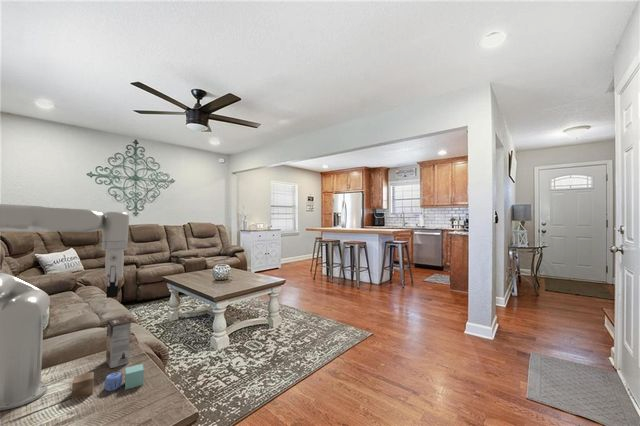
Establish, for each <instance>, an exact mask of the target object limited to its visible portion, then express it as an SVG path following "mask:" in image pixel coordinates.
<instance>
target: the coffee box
mask: <svg viewBox="0 0 640 426" xmlns="http://www.w3.org/2000/svg"><path fill="white" fill-rule="evenodd" d="M106 323H107V325H106V347H105V348H106V349H105V350H106V352H105V361H106V364H107V365H108V367H109V369H114V368H116V367H120V366H123V365H126V364H130V349H131V348H130V347H131V344H130V341H131V323H132V322H131V321H130V319H129V318H128V317H127V316H121V317H116V318H112V319H111V318H110V319H108V320H107V322H106Z"/></svg>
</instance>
